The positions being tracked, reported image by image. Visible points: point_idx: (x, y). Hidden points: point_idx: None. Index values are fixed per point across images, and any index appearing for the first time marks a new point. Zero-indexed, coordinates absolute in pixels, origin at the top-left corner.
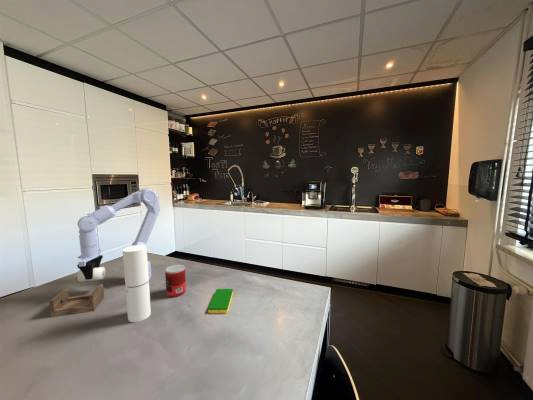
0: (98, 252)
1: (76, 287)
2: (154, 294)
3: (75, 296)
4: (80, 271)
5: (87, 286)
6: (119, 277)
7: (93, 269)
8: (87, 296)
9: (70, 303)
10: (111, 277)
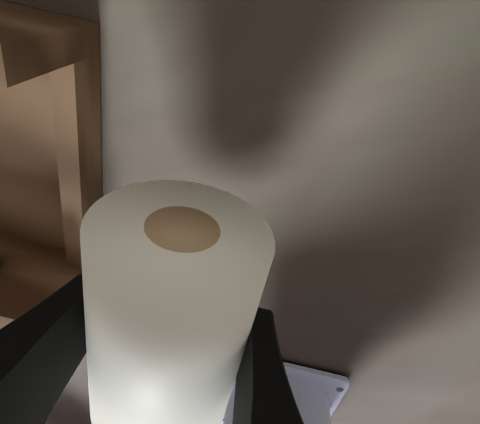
0: None
1: (448, 31)
2: (73, 416)
3: (75, 119)
4: (99, 293)
5: (391, 136)
6: (414, 329)
7: (113, 408)
8: (64, 200)
9: (24, 86)
10: (466, 288)
